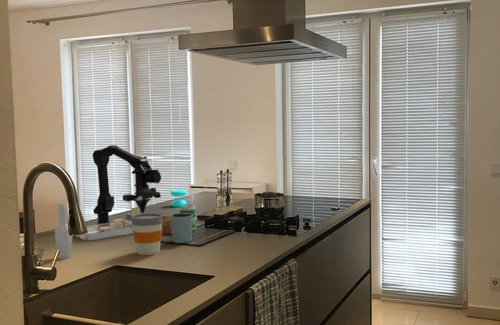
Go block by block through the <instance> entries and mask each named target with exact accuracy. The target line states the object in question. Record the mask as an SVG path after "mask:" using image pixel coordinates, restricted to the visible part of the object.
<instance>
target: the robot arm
mask: <svg viewBox="0 0 500 325" xmlns="http://www.w3.org/2000/svg"><path fill="white" fill-rule="evenodd" d="M113 155H114V156H115V157H118V158H119V159H122V160H123V161H124V162H125V161H126V162H127V163H128V164H129V165H130V166H131V168H133V171H132V172H131V174H132V175H133V174H134V175H135V179H134V180H135V184H134V187H135V192H134V194H131V193H128V194H123V195H122V201H124V202H135V204H136V205H137V206H138V208H140V214H145V210H146V207H147V204H148V202H149V201H151V199H153V197H154V198H155V199H157V198H159V199H160V198H161V197H162V194H161V192H160V191H157V188H156V187H151V188H150V186H149V184H159V183H160V182H161V181H162V175H161V172H160V171H159V169H157V168H156V169H153V168H152V166H151V165H150V163H149V160H148V159H147V158H146V157H143V156H138V155H135V154H133V153H131V152H129V151H127V150H126V149H123V148H121V147H119V146H118V145H116V144H112V145H108V146H106V147H104V148H102V149H96V150H94V151H93V153H92V159H93V163H94V164H95V165H96V168H97V179H98V188H99V189H98V190H99V194H98V195H99V196H98V197H97V199H96V200H97V201H96V202H97V204H96V206H95V207H94V209H93V211H92V212H93V214H94V215H97V222H96V223H95V224H102V223H109V222H110V217H109V213H112V211H113V208H114V206H115V202H116V201H115V196H114V195H111V193H110V186H109V175H108V165H109V162H110V157H111V156H113ZM95 224H94V225H95Z"/></svg>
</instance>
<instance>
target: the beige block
mask: <svg viewBox="0 0 500 325" xmlns="http://www.w3.org/2000/svg"><path fill="white" fill-rule="evenodd" d="M111 222H112V223H110V229H112V230H114V229H121V228H123V223H122V222H113V221H111Z"/></svg>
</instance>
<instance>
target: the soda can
mask: <svg viewBox="0 0 500 325" xmlns="http://www.w3.org/2000/svg"><path fill="white" fill-rule="evenodd" d="M179 208H180V209H179V211H180V212H179V213H191V214H193V220H192V232H194V231H195V230H196V229H197V215H196V214H197V208H196V207H195V205H192V204H188V205H184V206H182V207H179ZM193 230H194V231H193Z"/></svg>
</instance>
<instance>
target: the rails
mask: <svg viewBox="0 0 500 325" xmlns="http://www.w3.org/2000/svg"><path fill="white" fill-rule="evenodd" d="M124 220H125V224H126V223H128V224H131V225H132V221H129V220H126V219H124ZM112 222H113V221H109V223H102V224H90V225H86V226H87V228H89V227H96V226H98V231H99V227H106V226H110V223H112ZM128 235H133V227H127V228H121V229H114V230H107V231H101V232H94V233H88V234H87V240H86V241H88V240H89V241H95V240H102V239H109V238H115V237H121V236H128ZM89 241H88V242H89Z"/></svg>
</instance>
